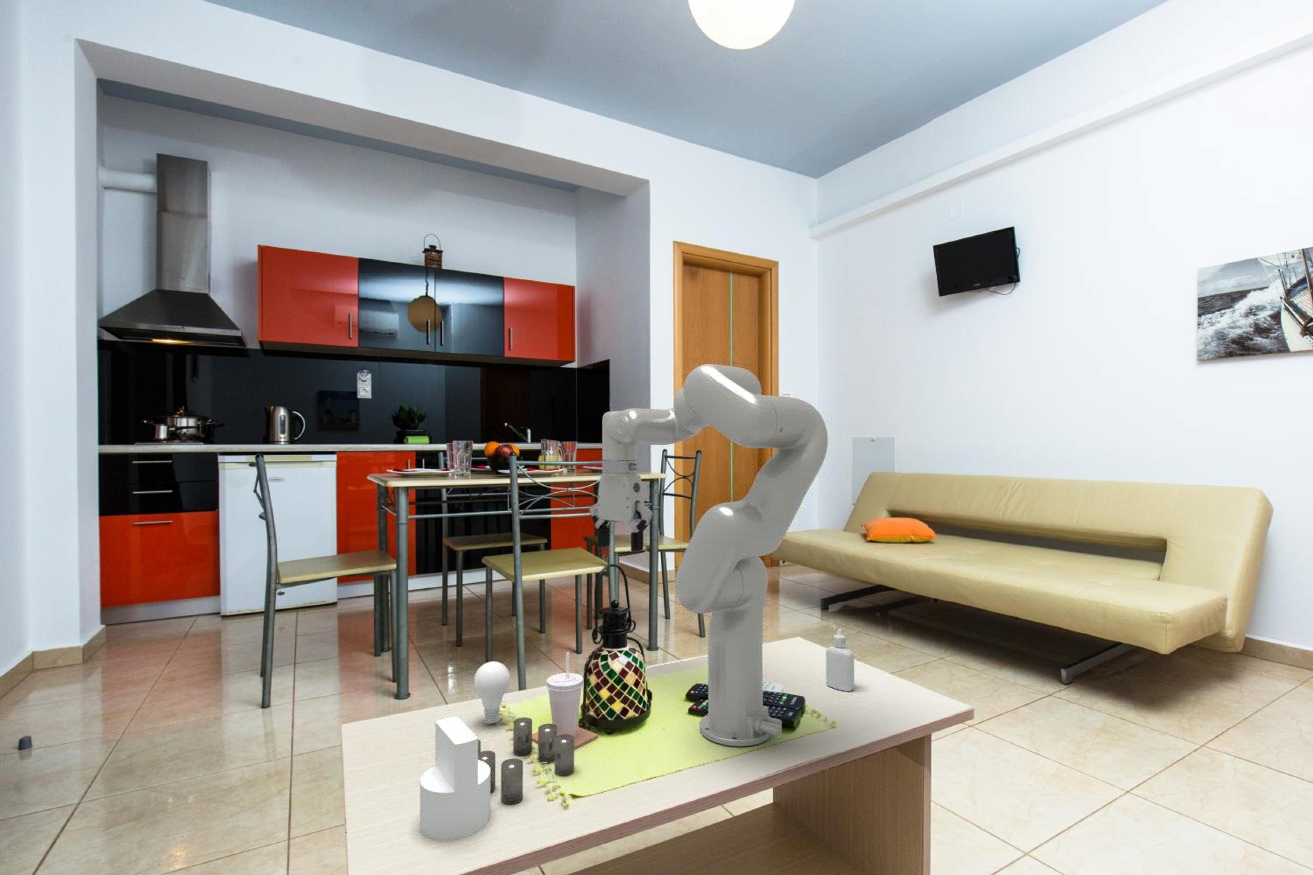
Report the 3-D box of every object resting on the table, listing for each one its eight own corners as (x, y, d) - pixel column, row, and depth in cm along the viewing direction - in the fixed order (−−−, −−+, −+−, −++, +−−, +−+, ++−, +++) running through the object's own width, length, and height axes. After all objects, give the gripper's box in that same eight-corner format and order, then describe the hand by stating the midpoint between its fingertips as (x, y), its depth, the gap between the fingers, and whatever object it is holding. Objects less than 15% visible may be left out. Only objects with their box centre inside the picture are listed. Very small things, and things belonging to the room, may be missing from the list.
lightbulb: (488, 734, 111) (489, 670, 111) (466, 724, 115) (466, 663, 115) (517, 721, 116) (517, 661, 116) (494, 713, 120) (494, 654, 120)
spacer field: (582, 767, 99) (582, 735, 99) (504, 810, 87) (504, 773, 87) (528, 743, 107) (528, 713, 107) (450, 779, 96) (450, 746, 96)
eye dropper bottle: (842, 681, 135) (841, 625, 136) (857, 691, 130) (856, 632, 130) (823, 683, 134) (823, 626, 134) (837, 693, 129) (837, 633, 129)
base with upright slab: (500, 824, 84) (500, 732, 84) (431, 849, 79) (431, 751, 79) (476, 794, 92) (477, 710, 92) (412, 815, 86) (412, 726, 87)
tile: (598, 737, 109) (598, 734, 109) (563, 754, 103) (563, 751, 103) (562, 723, 115) (562, 720, 115) (527, 739, 109) (527, 736, 109)
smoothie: (591, 735, 109) (591, 653, 109) (560, 748, 104) (560, 662, 105) (568, 724, 113) (568, 645, 114) (538, 735, 109) (538, 653, 109)
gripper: (662, 469, 134) (662, 550, 134) (603, 467, 145) (603, 542, 145) (638, 469, 128) (639, 555, 128) (579, 468, 139) (579, 546, 139)
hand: (620, 548), depth 136 cm, fingers open, 9 cm apart
